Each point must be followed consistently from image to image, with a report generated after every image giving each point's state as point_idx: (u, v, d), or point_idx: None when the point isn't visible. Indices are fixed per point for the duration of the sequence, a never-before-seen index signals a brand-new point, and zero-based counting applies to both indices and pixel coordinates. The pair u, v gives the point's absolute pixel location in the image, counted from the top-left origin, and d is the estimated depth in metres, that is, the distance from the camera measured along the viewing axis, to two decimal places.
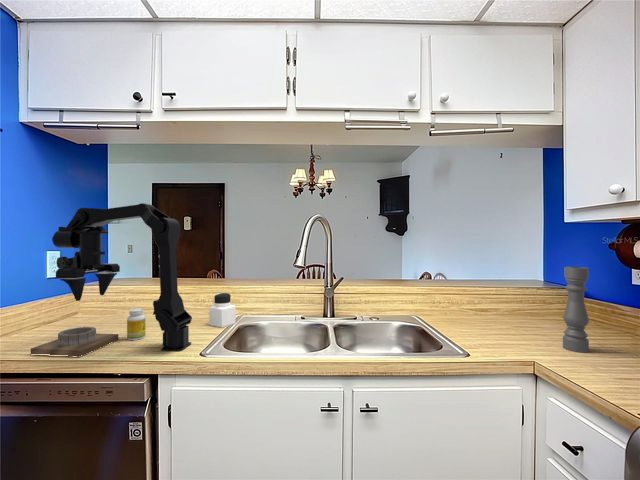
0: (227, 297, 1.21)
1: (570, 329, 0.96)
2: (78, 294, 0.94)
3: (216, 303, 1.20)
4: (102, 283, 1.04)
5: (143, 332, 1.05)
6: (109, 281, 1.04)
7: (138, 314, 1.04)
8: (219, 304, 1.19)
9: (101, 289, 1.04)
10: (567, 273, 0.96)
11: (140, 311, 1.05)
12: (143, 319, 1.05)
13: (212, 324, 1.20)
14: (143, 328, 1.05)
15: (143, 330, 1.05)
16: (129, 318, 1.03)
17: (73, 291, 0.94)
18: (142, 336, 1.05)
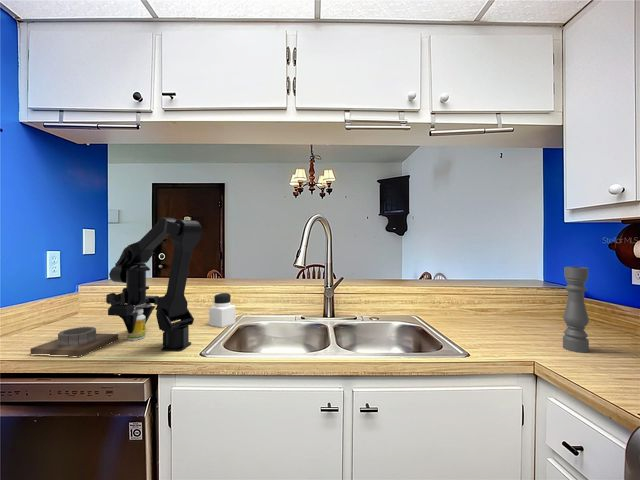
0: (227, 297, 1.21)
1: (570, 329, 0.96)
2: (131, 327, 1.02)
3: (216, 303, 1.20)
4: None
5: (143, 332, 1.05)
6: (149, 314, 1.09)
7: (138, 314, 1.04)
8: (219, 304, 1.19)
9: None
10: (567, 273, 0.96)
11: (140, 311, 1.05)
12: (143, 319, 1.05)
13: (212, 324, 1.20)
14: (143, 328, 1.05)
15: (143, 330, 1.05)
16: None
17: (126, 325, 1.02)
18: (142, 336, 1.05)
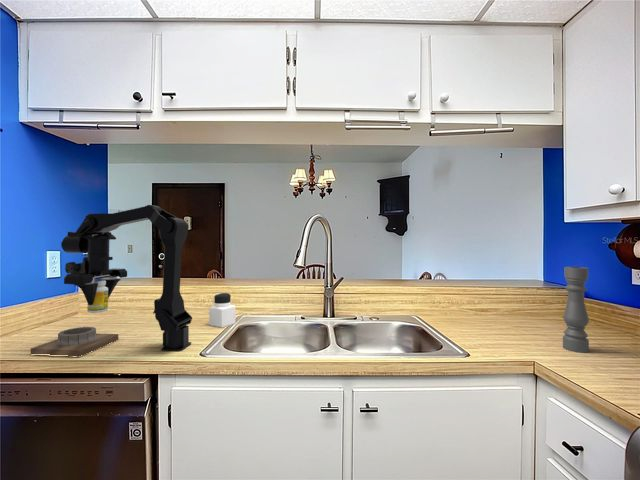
0: (227, 297, 1.21)
1: (570, 329, 0.96)
2: (90, 299, 0.96)
3: (216, 303, 1.20)
4: None
5: (105, 305, 0.99)
6: (112, 287, 1.03)
7: (99, 285, 0.98)
8: (219, 304, 1.19)
9: None
10: (567, 273, 0.96)
11: (102, 282, 0.99)
12: (105, 291, 0.99)
13: (212, 324, 1.20)
14: (105, 300, 0.99)
15: (105, 303, 0.99)
16: None
17: (86, 296, 0.96)
18: (103, 309, 0.99)
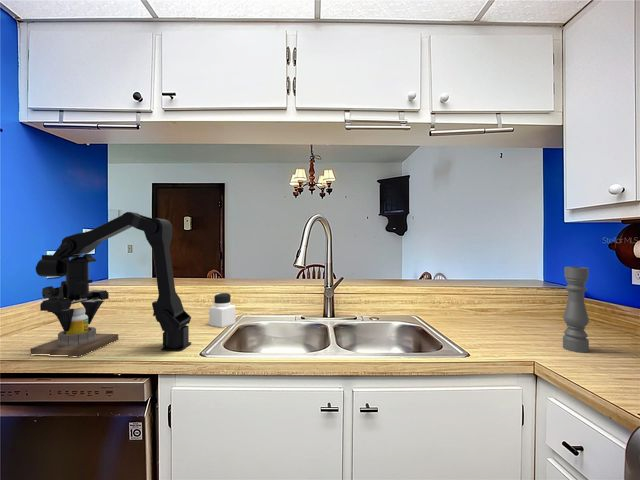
0: (227, 297, 1.21)
1: (570, 329, 0.96)
2: (66, 325, 0.92)
3: (216, 303, 1.20)
4: (88, 312, 1.00)
5: None
6: (95, 310, 1.01)
7: (78, 314, 0.95)
8: (219, 304, 1.19)
9: None
10: (567, 273, 0.96)
11: (81, 310, 0.96)
12: (84, 319, 0.96)
13: (212, 324, 1.20)
14: (85, 329, 0.96)
15: (85, 331, 0.96)
16: None
17: (61, 322, 0.92)
18: None
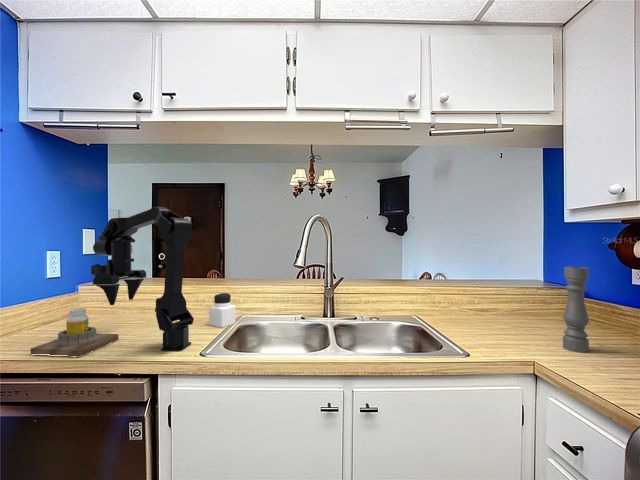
0: (227, 297, 1.21)
1: (570, 329, 0.96)
2: (112, 299, 1.01)
3: (216, 303, 1.20)
4: (131, 288, 1.11)
5: None
6: (137, 286, 1.11)
7: (79, 314, 0.95)
8: (219, 304, 1.19)
9: (130, 294, 1.11)
10: (567, 273, 0.96)
11: (81, 311, 0.96)
12: (85, 320, 0.96)
13: (212, 324, 1.20)
14: (85, 330, 0.96)
15: None
16: (68, 319, 0.94)
17: (108, 296, 1.01)
18: None
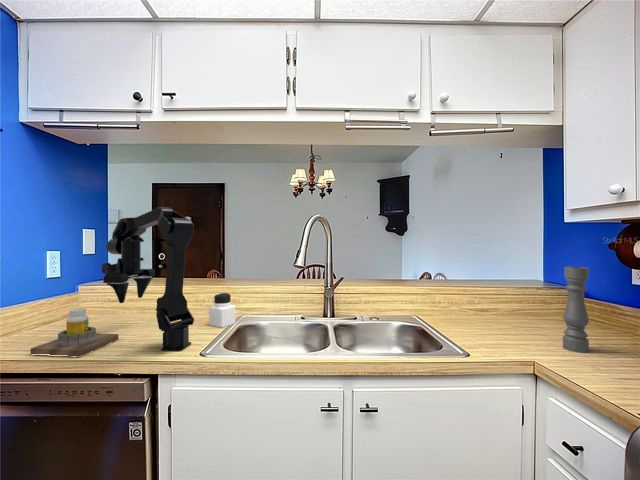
0: (227, 297, 1.21)
1: (570, 329, 0.96)
2: (122, 297, 1.03)
3: (216, 303, 1.20)
4: (140, 287, 1.13)
5: None
6: (146, 285, 1.14)
7: (79, 314, 0.95)
8: (219, 304, 1.19)
9: (139, 292, 1.13)
10: (567, 273, 0.96)
11: (81, 311, 0.96)
12: (85, 320, 0.96)
13: (212, 324, 1.20)
14: (85, 330, 0.96)
15: None
16: (68, 319, 0.94)
17: (117, 294, 1.03)
18: None
